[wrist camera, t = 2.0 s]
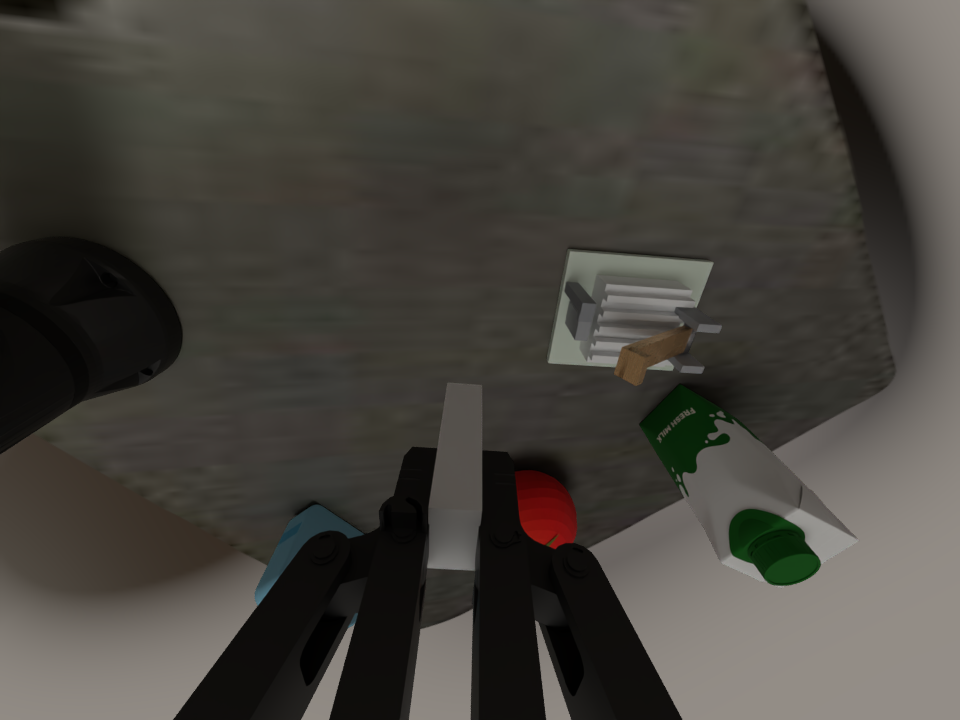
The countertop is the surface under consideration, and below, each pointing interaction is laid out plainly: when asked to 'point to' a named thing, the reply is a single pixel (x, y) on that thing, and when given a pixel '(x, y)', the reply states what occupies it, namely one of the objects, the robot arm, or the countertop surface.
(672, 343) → the wooden bar
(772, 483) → the milk carton
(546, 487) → the tomato
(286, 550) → the light blue flat block
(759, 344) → the countertop surface
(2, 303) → the robot arm
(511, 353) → the countertop surface
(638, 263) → the base
